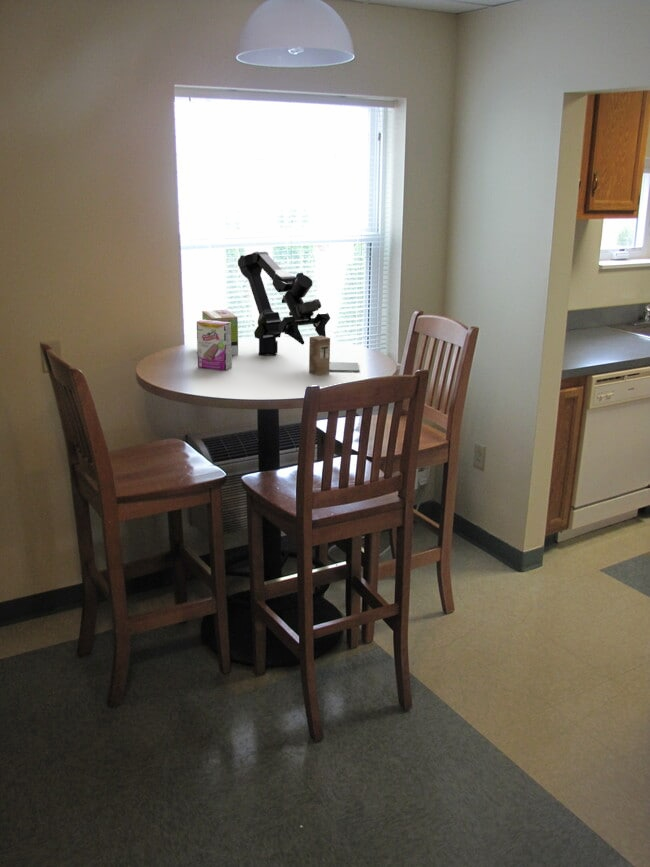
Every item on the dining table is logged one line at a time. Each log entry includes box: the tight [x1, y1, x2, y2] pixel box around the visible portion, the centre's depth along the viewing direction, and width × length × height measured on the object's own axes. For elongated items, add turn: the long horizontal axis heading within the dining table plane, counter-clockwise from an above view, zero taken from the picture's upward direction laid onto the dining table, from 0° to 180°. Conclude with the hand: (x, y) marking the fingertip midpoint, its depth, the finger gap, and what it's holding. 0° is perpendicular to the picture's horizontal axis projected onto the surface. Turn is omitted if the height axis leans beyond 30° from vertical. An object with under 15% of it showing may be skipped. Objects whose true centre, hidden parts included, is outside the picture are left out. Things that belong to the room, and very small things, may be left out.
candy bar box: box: [196, 319, 233, 372], centre depth 264 cm, size 11×5×16 cm, turn 71°
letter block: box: [308, 335, 331, 376], centre depth 261 cm, size 5×5×12 cm
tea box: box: [201, 309, 239, 356], centre depth 288 cm, size 15×10×15 cm, turn 23°
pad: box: [329, 361, 360, 373], centre depth 271 cm, size 11×11×1 cm
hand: (314, 342), depth 262 cm, fingers open, 9 cm apart
